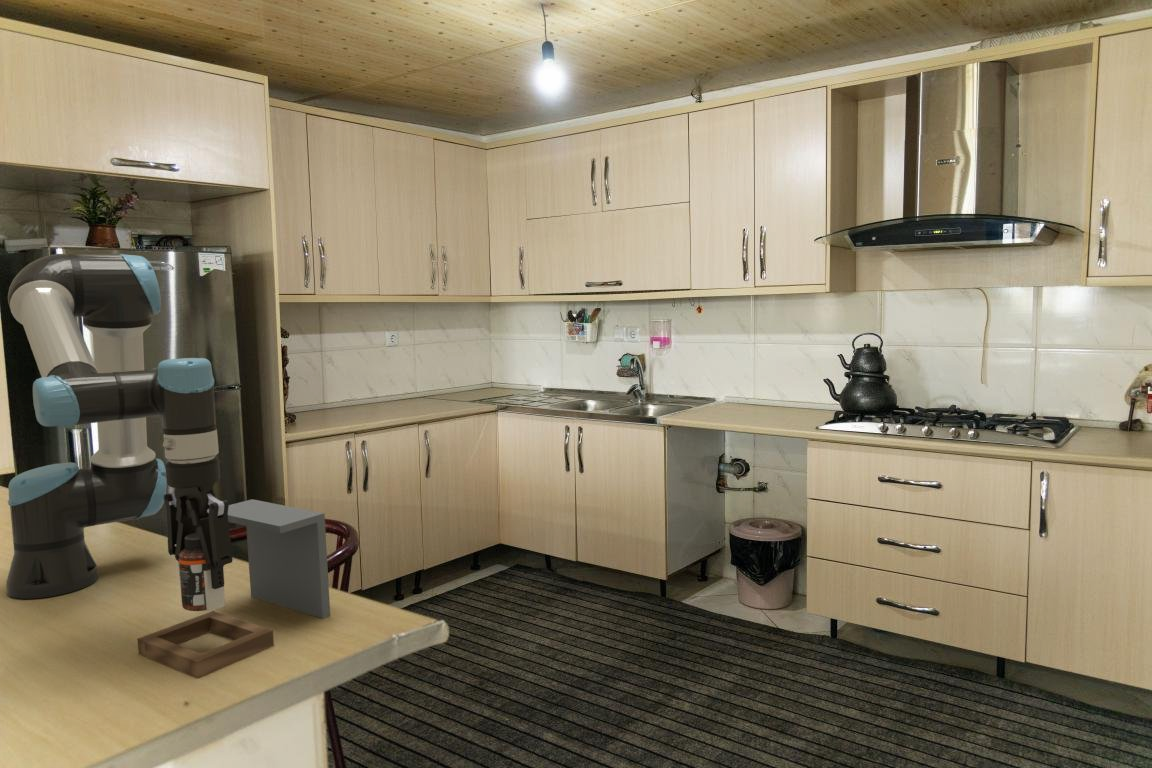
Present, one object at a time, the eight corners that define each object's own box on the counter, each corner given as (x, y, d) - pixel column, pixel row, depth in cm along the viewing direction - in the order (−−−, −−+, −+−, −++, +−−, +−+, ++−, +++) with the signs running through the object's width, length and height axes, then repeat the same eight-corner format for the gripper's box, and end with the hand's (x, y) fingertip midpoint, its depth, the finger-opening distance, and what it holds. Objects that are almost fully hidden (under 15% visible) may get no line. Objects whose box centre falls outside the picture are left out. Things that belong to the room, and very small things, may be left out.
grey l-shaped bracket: (214, 610, 146) (207, 510, 144) (258, 594, 153) (252, 499, 151) (286, 633, 135) (280, 526, 133) (330, 615, 143) (324, 513, 140)
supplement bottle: (208, 613, 125) (202, 541, 124) (173, 611, 126) (167, 540, 125) (231, 599, 131) (226, 530, 130) (198, 597, 132) (193, 529, 131)
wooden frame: (138, 653, 129) (137, 638, 128) (214, 625, 139) (213, 610, 139) (198, 678, 120) (196, 661, 120) (273, 645, 131) (272, 630, 130)
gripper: (134, 457, 128) (146, 600, 131) (206, 469, 118) (217, 623, 120) (180, 449, 134) (190, 585, 137) (251, 459, 124) (261, 606, 127)
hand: (203, 603), depth 129 cm, fingers closed on supplement bottle, 6 cm apart
